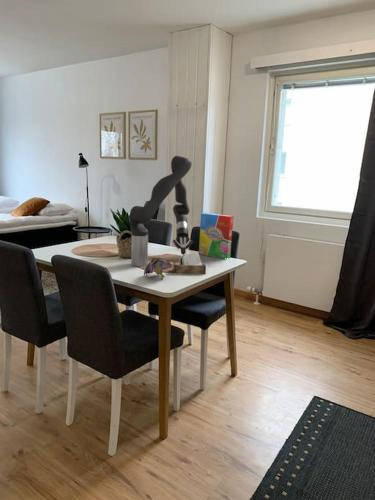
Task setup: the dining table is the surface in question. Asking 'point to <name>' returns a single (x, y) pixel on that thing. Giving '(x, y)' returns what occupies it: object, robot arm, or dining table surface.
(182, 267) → the hinge pocket
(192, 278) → the dining table surface
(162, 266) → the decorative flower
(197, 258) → the grey rounded block
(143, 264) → the robot arm
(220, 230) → the game box
